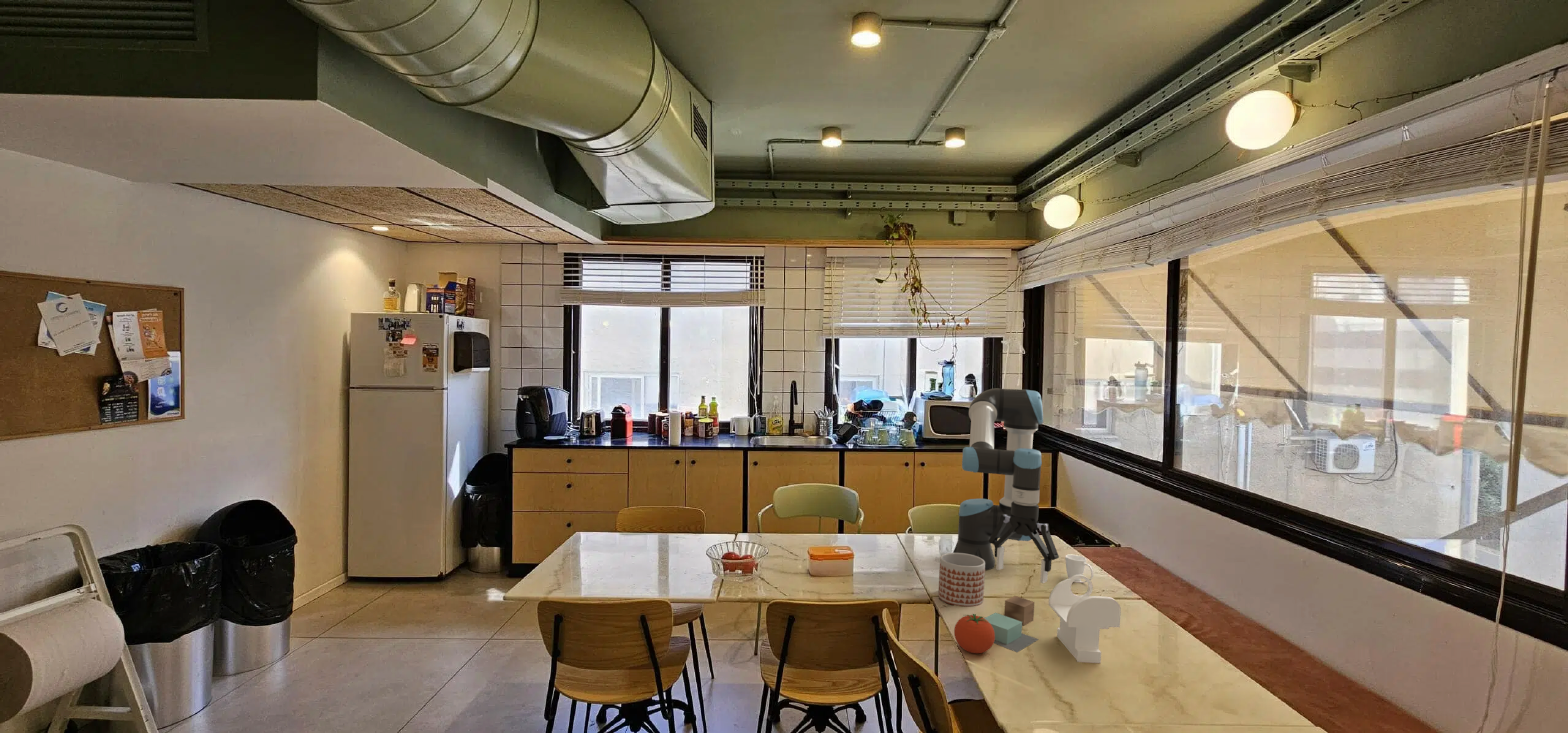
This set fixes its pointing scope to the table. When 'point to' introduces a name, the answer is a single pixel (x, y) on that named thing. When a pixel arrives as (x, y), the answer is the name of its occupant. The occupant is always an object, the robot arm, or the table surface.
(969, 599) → the planter
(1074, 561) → the cup
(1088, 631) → the tape dispenser
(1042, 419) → the robot arm
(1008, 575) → the table surface
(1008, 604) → the walnut block
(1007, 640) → the teal base block
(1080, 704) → the table surface
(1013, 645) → the build mat
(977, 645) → the tomato
